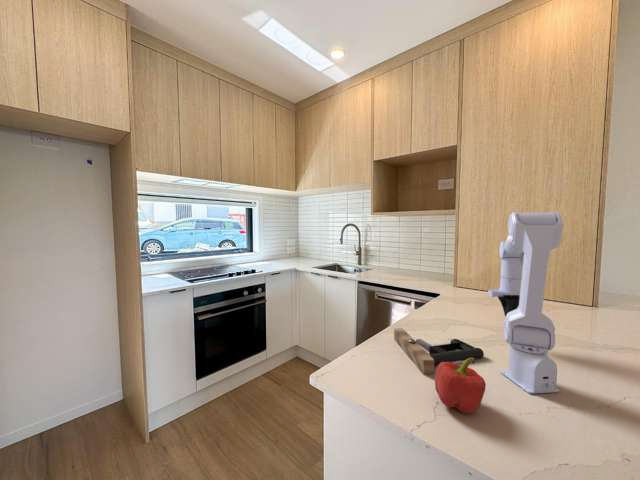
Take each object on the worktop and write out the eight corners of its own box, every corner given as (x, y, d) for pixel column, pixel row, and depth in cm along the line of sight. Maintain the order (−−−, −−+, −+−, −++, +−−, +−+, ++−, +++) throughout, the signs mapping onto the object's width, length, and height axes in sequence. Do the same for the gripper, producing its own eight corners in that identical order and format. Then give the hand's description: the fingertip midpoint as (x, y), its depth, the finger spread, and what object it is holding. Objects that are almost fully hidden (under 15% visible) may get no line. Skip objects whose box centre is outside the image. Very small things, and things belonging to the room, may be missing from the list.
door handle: (400, 338, 90) (432, 359, 75) (450, 332, 95) (489, 350, 80) (401, 348, 90) (432, 371, 75) (450, 342, 95) (489, 361, 80)
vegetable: (453, 384, 68) (454, 347, 67) (496, 410, 59) (498, 366, 58) (423, 398, 63) (424, 357, 62) (465, 428, 54) (467, 380, 53)
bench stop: (433, 373, 73) (434, 357, 72) (423, 374, 72) (423, 358, 72) (402, 339, 95) (402, 326, 94) (393, 339, 94) (394, 326, 94)
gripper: (520, 274, 94) (518, 312, 95) (482, 275, 92) (480, 313, 93) (538, 279, 87) (536, 319, 88) (497, 279, 85) (495, 321, 86)
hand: (508, 317), depth 90 cm, fingers closed
